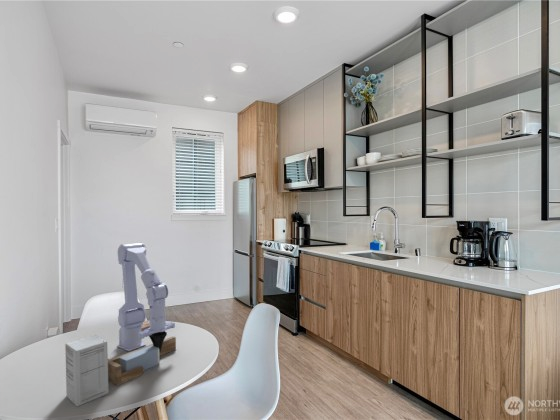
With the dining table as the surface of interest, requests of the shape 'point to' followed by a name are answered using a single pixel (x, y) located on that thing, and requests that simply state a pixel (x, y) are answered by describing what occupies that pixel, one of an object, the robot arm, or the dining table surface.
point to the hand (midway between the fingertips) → (157, 351)
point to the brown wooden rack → (119, 378)
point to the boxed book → (140, 359)
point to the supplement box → (86, 369)
